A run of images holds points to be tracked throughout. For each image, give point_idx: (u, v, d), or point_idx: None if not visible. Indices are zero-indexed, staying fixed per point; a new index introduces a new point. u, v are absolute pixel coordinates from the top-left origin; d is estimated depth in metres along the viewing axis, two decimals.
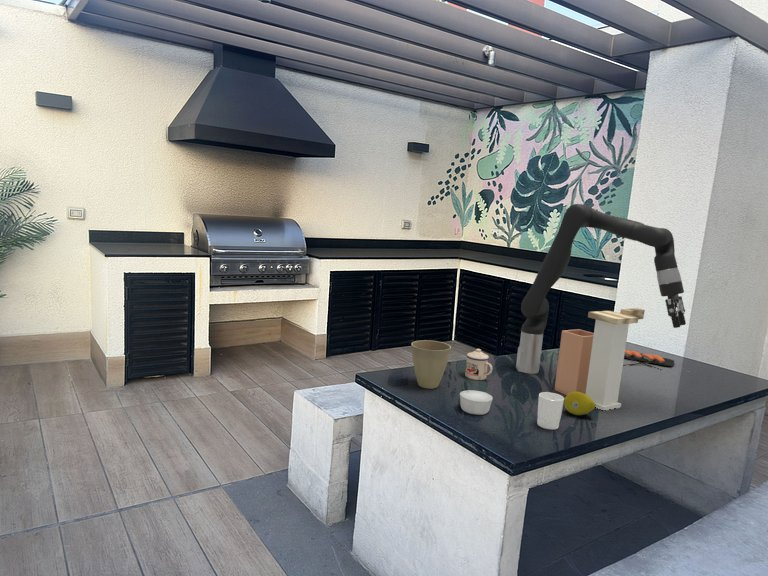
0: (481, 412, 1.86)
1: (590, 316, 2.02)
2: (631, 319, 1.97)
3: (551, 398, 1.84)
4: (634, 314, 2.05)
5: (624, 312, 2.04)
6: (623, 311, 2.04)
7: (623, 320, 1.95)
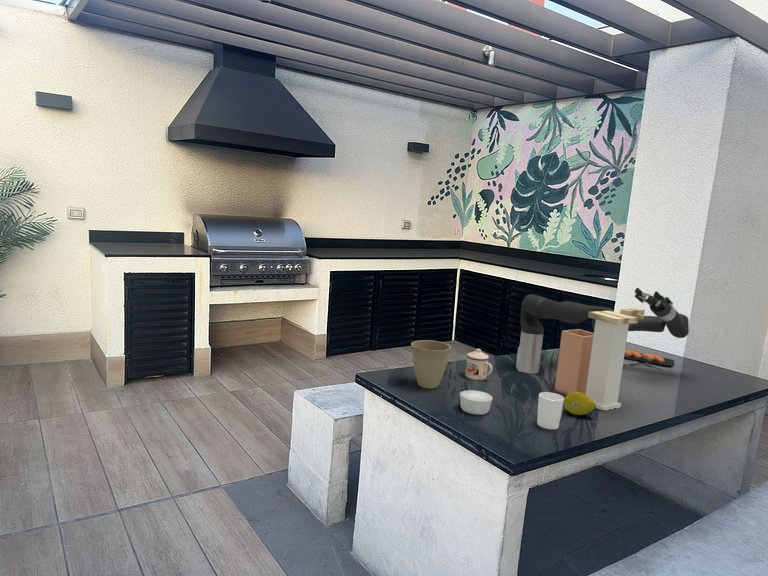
0: (481, 412, 1.86)
1: (590, 316, 2.02)
2: (631, 319, 1.97)
3: (551, 398, 1.84)
4: (634, 314, 2.05)
5: (624, 312, 2.04)
6: (623, 311, 2.04)
7: (623, 320, 1.95)
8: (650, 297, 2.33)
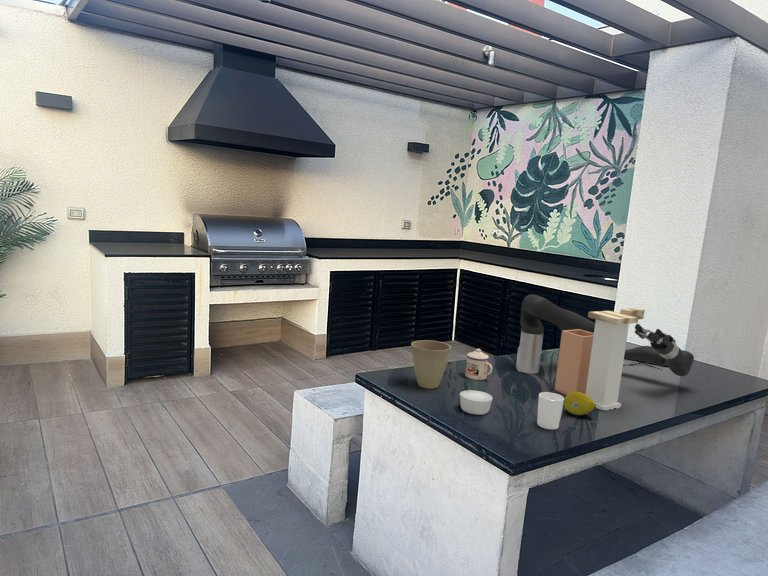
0: (481, 412, 1.86)
1: (590, 316, 2.02)
2: (631, 319, 1.97)
3: (551, 398, 1.84)
4: (634, 314, 2.05)
5: (624, 312, 2.04)
6: (623, 311, 2.04)
7: (623, 320, 1.95)
8: (651, 334, 2.17)
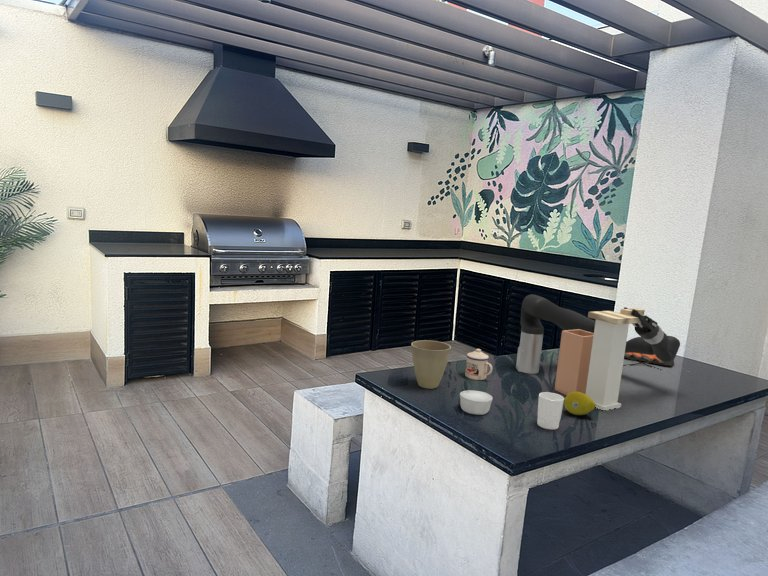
0: (481, 412, 1.86)
1: (590, 316, 2.02)
2: (631, 319, 1.97)
3: (551, 398, 1.84)
4: None
5: (624, 312, 2.04)
6: (623, 311, 2.04)
7: (623, 320, 1.95)
8: None
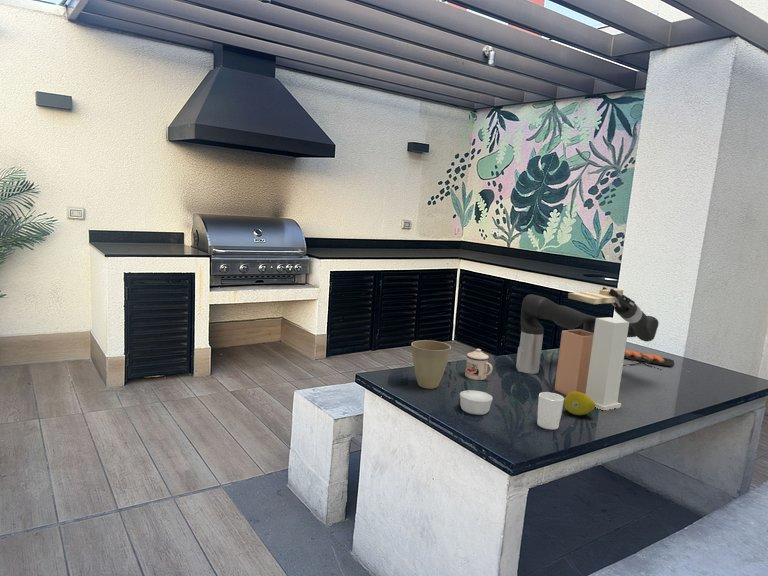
0: (481, 412, 1.86)
1: (570, 297, 2.12)
2: (608, 299, 2.07)
3: (551, 398, 1.84)
4: None
5: (603, 292, 2.13)
6: (602, 291, 2.14)
7: (600, 300, 2.04)
8: None
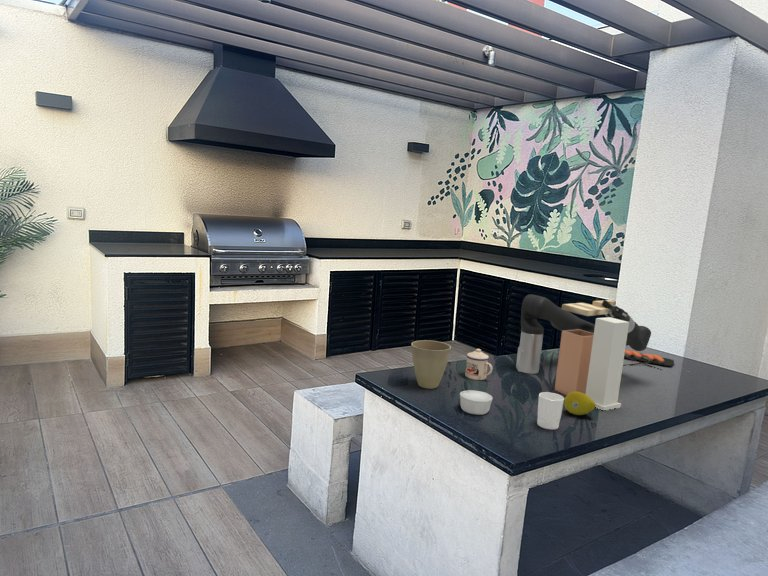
0: (481, 412, 1.86)
1: (563, 308, 2.13)
2: (601, 310, 2.08)
3: (551, 398, 1.84)
4: None
5: (596, 304, 2.15)
6: (595, 303, 2.15)
7: (594, 311, 2.06)
8: None
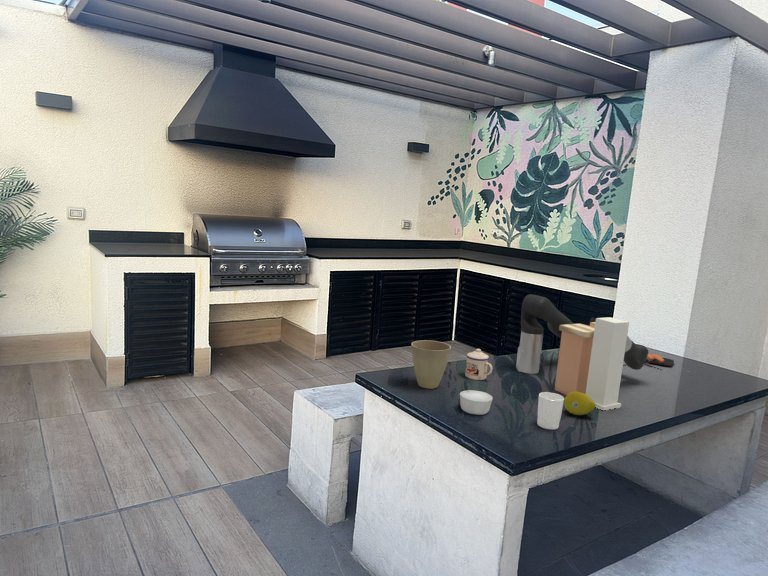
0: (481, 412, 1.86)
1: (561, 329, 2.15)
2: None
3: (551, 398, 1.84)
4: None
5: (593, 325, 2.16)
6: (592, 324, 2.17)
7: (591, 333, 2.07)
8: None
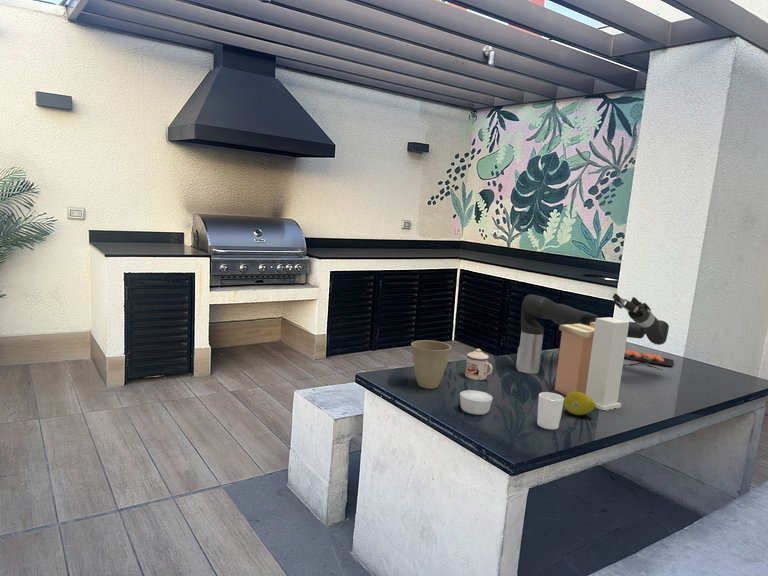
0: (481, 412, 1.86)
1: (561, 329, 2.15)
2: None
3: (551, 398, 1.84)
4: None
5: (593, 325, 2.16)
6: (592, 324, 2.17)
7: (591, 333, 2.07)
8: (628, 303, 2.31)
